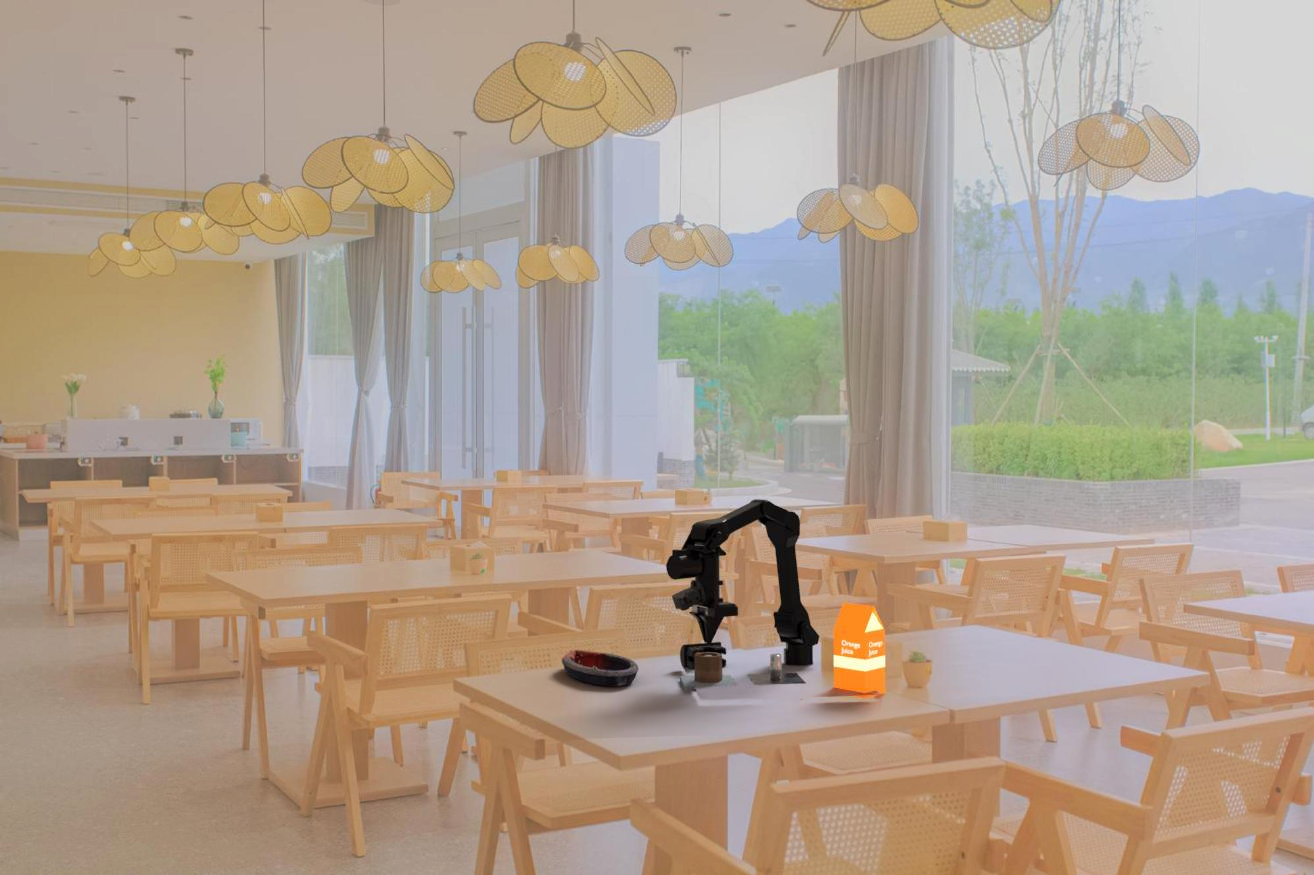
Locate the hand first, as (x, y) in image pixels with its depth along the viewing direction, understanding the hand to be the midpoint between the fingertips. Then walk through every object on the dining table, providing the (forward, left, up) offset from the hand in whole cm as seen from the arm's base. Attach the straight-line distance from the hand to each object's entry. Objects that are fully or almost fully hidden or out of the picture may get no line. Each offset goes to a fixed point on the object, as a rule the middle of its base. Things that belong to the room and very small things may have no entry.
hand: (707, 642), depth 291 cm
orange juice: (-33, +12, -10) cm, 37 cm away
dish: (+25, -13, -10) cm, 30 cm away
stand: (-16, 0, -10) cm, 19 cm away
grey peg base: (0, 0, -10) cm, 10 cm away
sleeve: (0, 0, -9) cm, 9 cm away
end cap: (-1, -18, -10) cm, 21 cm away
